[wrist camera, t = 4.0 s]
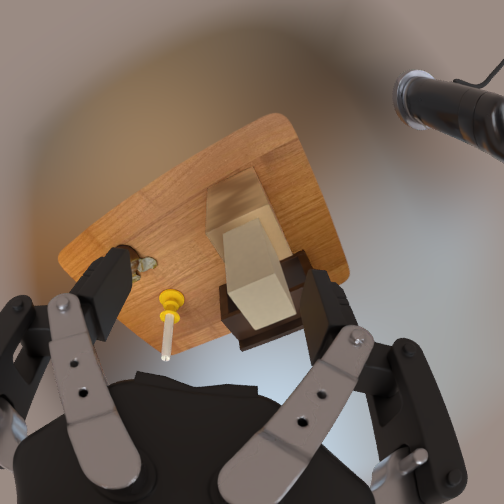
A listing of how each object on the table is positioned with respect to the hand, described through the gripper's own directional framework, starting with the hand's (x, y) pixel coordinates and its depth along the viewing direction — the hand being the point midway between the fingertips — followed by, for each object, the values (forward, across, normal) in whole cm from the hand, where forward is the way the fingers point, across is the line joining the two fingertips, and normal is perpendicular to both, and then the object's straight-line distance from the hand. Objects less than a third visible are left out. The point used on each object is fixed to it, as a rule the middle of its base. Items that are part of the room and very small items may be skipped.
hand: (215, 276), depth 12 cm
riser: (+34, -1, +8) cm, 34 cm away
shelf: (+36, -9, +25) cm, 45 cm away
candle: (+34, +11, +30) cm, 47 cm away
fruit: (+33, +18, +22) cm, 43 cm away
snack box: (+20, -3, +9) cm, 22 cm away
